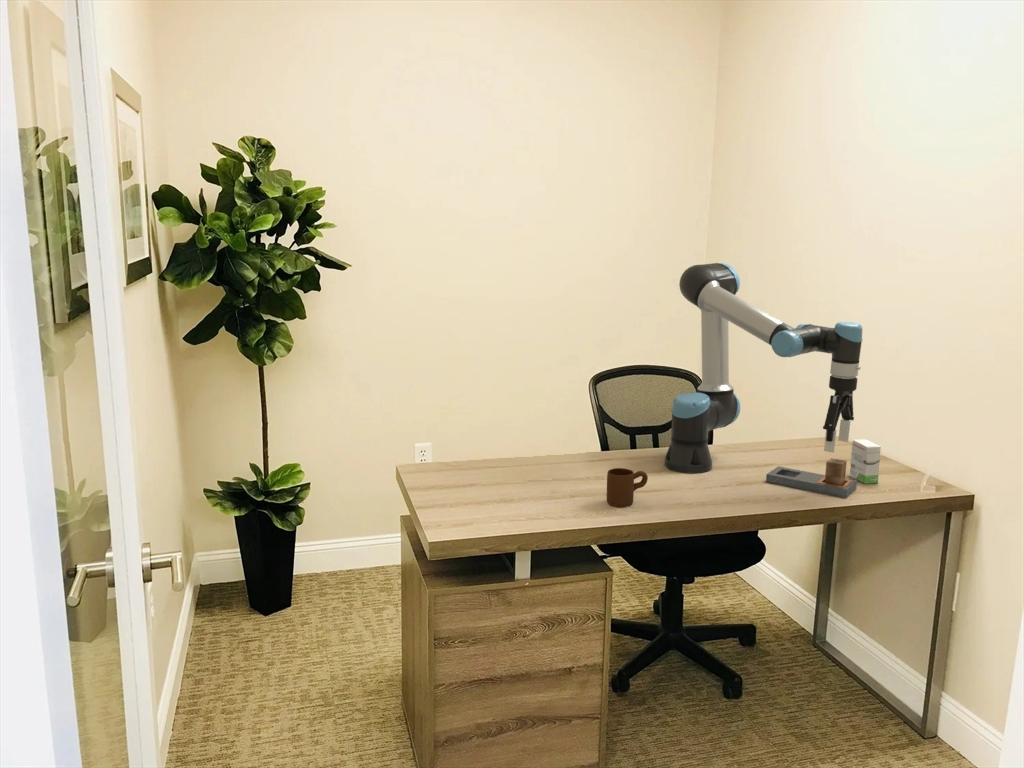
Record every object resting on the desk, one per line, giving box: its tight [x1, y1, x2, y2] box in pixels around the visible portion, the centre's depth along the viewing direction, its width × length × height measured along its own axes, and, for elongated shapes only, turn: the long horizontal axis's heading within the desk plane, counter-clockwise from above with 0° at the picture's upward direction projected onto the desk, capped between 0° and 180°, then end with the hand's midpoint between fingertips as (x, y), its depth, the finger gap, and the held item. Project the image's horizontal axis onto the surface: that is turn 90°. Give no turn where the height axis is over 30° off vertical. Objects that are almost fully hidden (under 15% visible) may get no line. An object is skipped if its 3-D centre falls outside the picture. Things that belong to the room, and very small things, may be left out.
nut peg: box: [824, 458, 848, 486], centre depth 253 cm, size 4×4×9 cm
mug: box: [606, 467, 649, 508], centre depth 242 cm, size 12×8×9 cm, turn 104°
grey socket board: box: [765, 466, 858, 499], centre depth 258 cm, size 24×10×3 cm, turn 53°
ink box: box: [849, 439, 881, 485], centre depth 263 cm, size 9×5×12 cm, turn 9°
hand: (836, 446), depth 251 cm, fingers open, 13 cm apart
